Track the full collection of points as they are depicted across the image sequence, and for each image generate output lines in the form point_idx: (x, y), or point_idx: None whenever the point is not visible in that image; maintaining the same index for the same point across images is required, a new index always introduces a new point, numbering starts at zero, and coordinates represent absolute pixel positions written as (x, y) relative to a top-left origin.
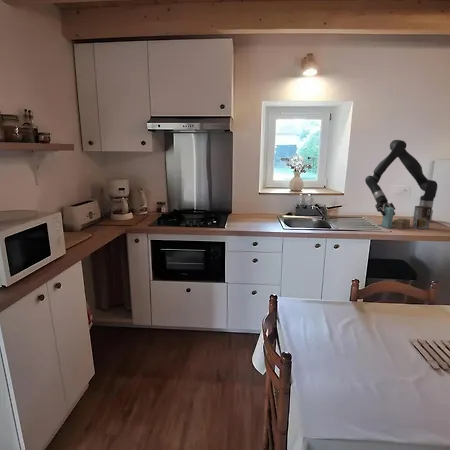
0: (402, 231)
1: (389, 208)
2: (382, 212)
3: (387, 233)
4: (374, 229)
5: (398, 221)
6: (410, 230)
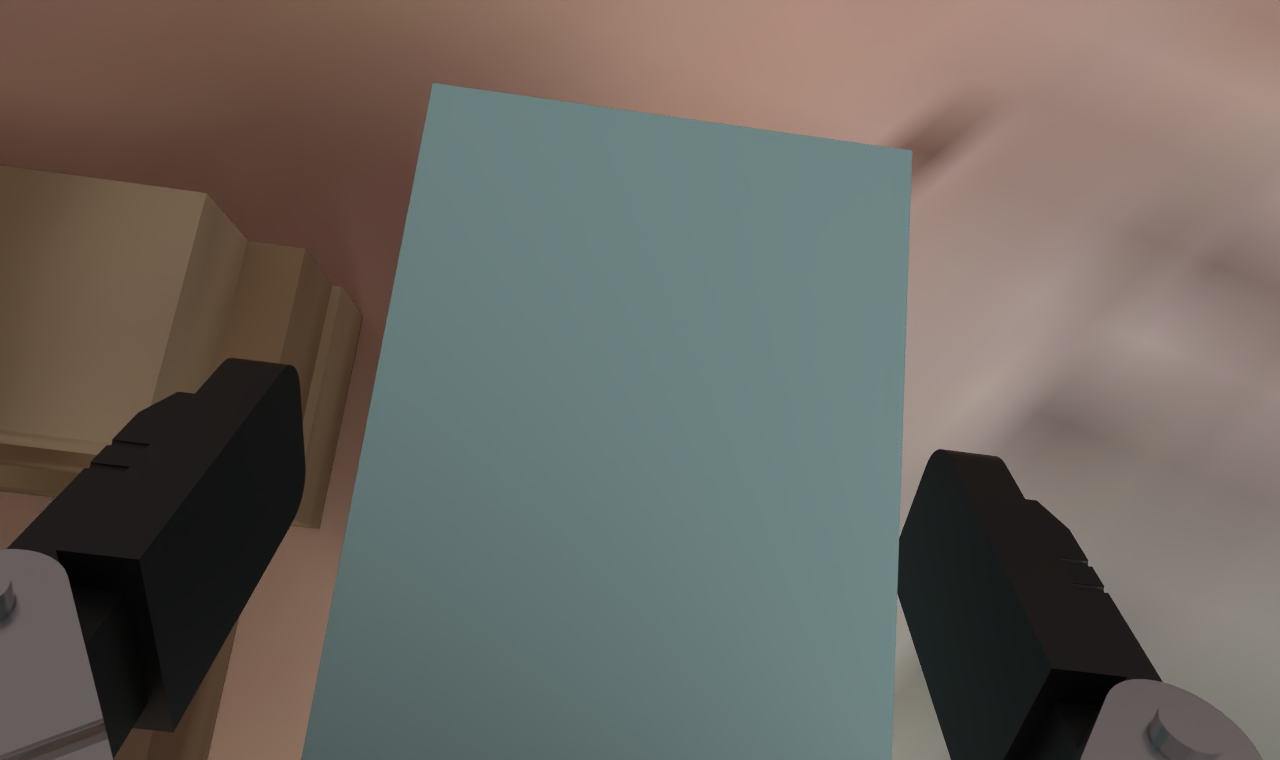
0: (620, 32)
1: (906, 229)
2: (1120, 626)
3: (1144, 53)
4: (1198, 475)
5: (207, 363)
6: (314, 15)
